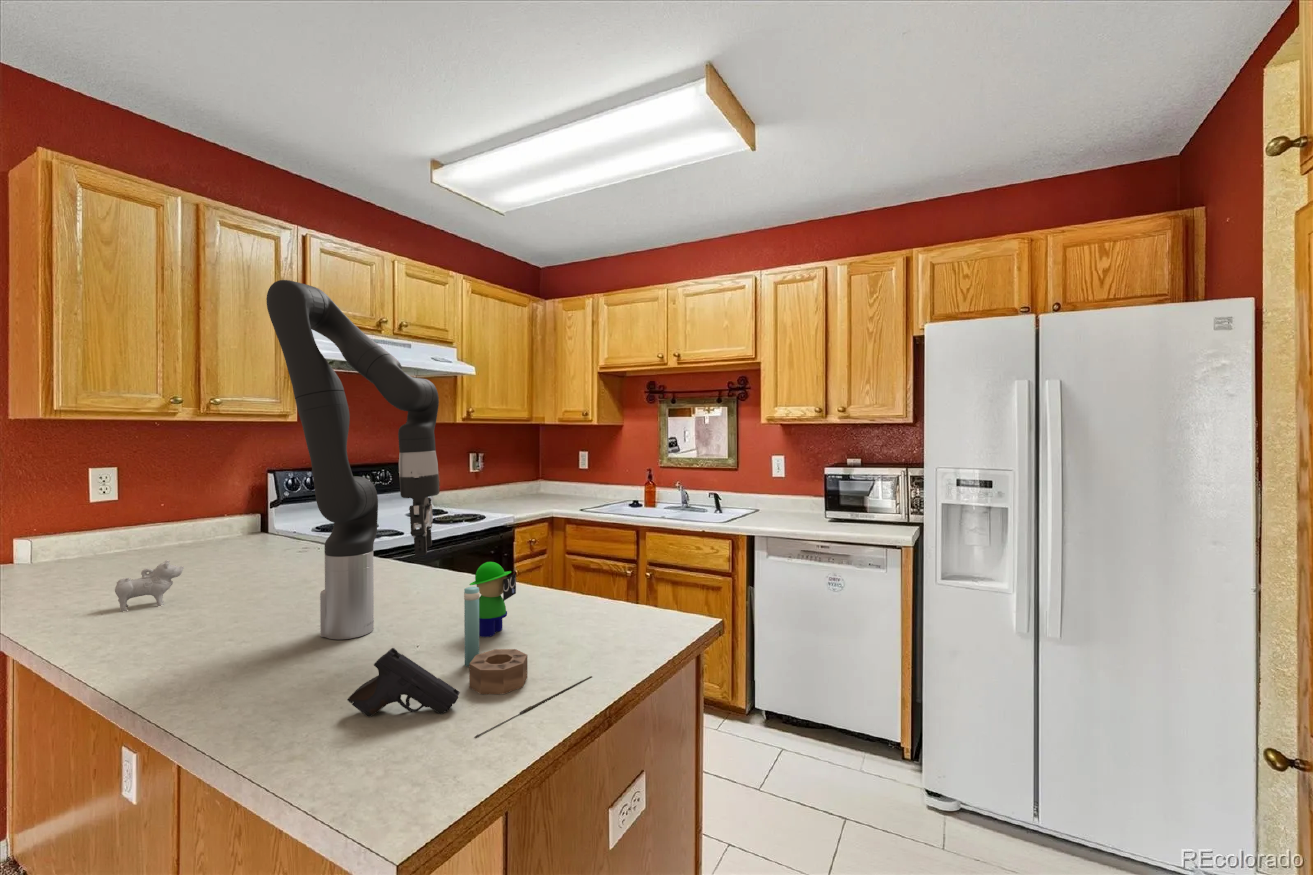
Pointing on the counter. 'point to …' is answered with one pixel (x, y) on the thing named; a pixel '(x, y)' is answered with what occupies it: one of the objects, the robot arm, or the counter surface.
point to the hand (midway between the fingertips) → (423, 551)
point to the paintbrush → (538, 704)
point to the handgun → (402, 687)
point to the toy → (493, 596)
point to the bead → (498, 671)
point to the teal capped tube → (471, 623)
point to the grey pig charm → (148, 584)
